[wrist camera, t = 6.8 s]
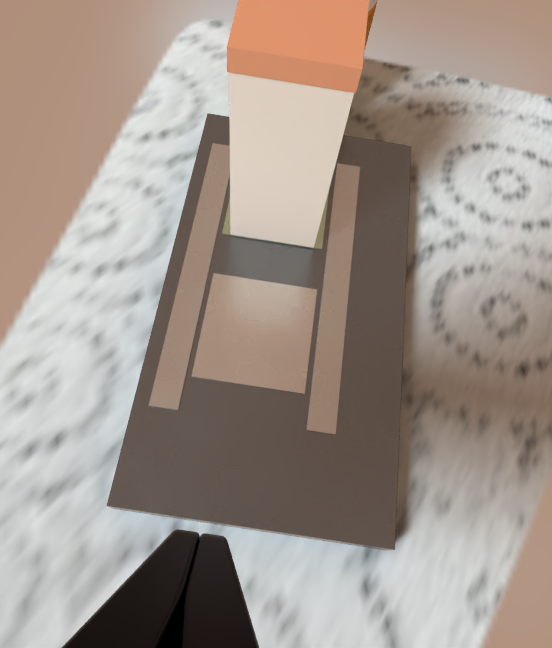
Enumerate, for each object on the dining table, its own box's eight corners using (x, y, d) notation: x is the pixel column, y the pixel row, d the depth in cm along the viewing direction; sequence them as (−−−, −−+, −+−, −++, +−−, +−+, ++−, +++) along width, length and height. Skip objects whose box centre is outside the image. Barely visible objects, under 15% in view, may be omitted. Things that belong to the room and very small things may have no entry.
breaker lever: (314, 248, 25) (362, 68, 16) (229, 235, 25) (226, 46, 16) (323, 180, 27) (371, -19, 17) (243, 167, 27) (248, -39, 17)
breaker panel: (386, 549, 21) (431, 548, 16) (113, 508, 21) (78, 494, 16) (404, 161, 29) (437, 85, 24) (208, 130, 29) (203, 47, 24)
